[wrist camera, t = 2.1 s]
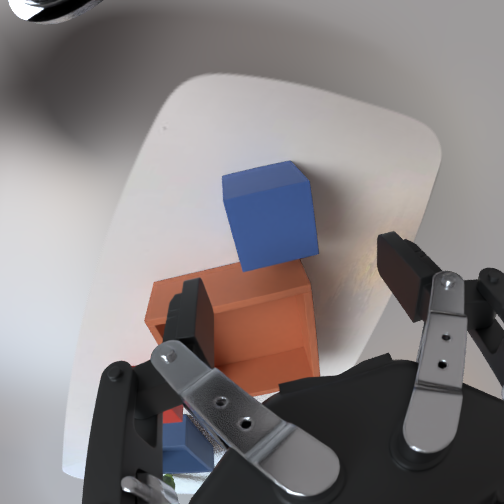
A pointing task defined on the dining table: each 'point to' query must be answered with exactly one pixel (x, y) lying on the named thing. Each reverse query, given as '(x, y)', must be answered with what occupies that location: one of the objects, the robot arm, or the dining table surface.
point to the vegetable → (169, 480)
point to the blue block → (270, 215)
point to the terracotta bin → (252, 322)
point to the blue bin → (186, 449)
